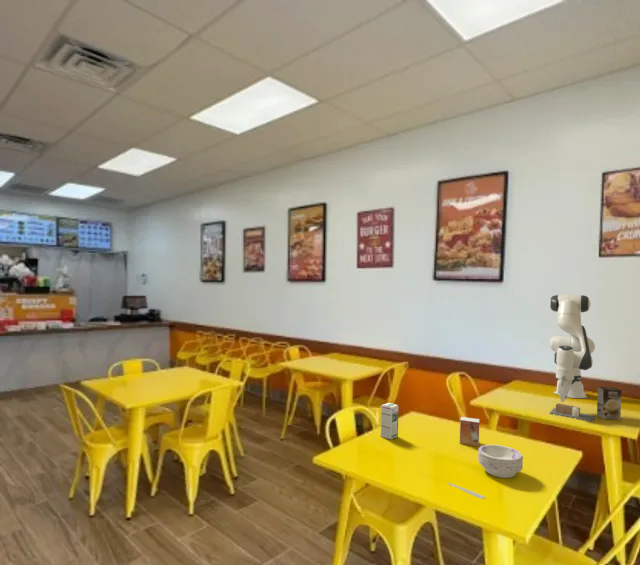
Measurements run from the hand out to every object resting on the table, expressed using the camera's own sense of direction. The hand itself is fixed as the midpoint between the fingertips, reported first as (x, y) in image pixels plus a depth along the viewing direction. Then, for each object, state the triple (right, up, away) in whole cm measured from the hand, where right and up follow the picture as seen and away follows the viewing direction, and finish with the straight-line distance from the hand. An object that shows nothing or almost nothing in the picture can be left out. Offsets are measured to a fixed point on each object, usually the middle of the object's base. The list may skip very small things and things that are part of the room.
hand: (564, 399), depth 235 cm
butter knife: (-93, -5, -89) cm, 128 cm away
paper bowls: (-70, -5, -79) cm, 106 cm away
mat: (+3, -8, -3) cm, 9 cm away
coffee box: (+22, -9, -5) cm, 24 cm away
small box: (-71, -5, -50) cm, 87 cm away
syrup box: (-106, -4, -45) cm, 115 cm away
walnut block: (-3, -5, +2) cm, 6 cm away
